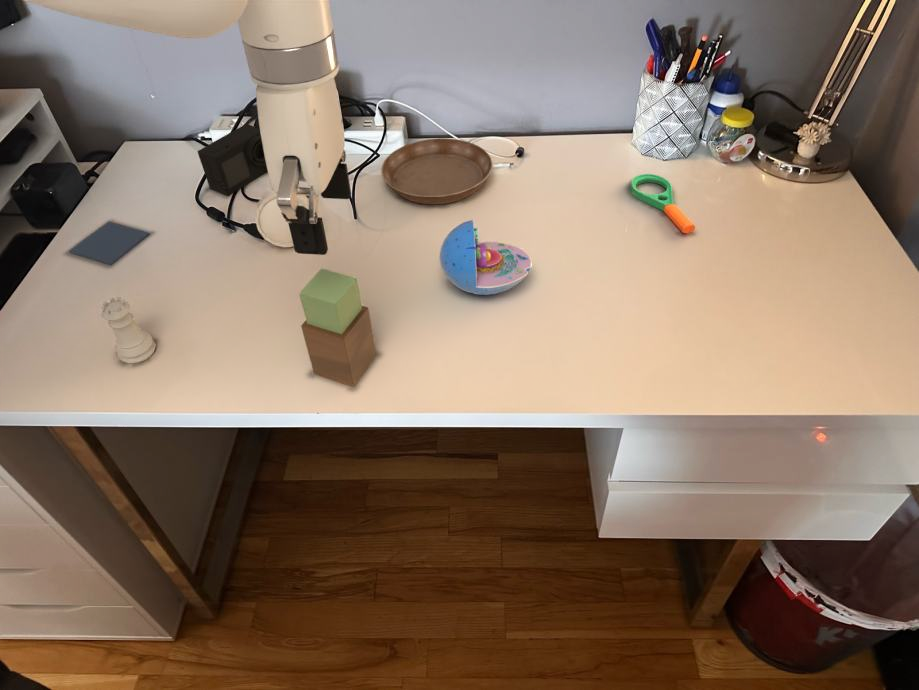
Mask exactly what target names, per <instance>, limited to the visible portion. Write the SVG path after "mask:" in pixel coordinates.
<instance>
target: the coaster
mask: <svg viewBox="0 0 919 690" xmlns="http://www.w3.org/2000/svg"><path fill="white" fill-rule="evenodd" d="M150 235H151V233H150V232H148V231H145V230H141V229H138V228H134V227H130V226H127V225H123V224H120V223H116V222H113V221H107V222H106V223H104V224H103V225H102V226H101V227H99V228H98V229H96V230H95V231H94V232H92V233H91V234H90V235H88V236H87V237H86V238H84V239H83V240H81V241H80V242H79V243H78V244H76V245H75V246H73V247H72V248H71V249H69V250H68V253H69V254H71V255H75V256H77V257H82V258H85V259H88V260H91V261H94V262H98V263H101V264H105V265H107V266H113V265H114V264H115V263H116V262H118V261H119V260H120V259H122V258H123V257H124V256H126V255H127V254H128V253H129V252H131V250H133V249H134V248H135V247H137V245H139V244H140V243H142V241H145V239H147V238H148V237H149V236H150Z"/></svg>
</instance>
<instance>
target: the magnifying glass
mask: <svg viewBox="0 0 919 690" xmlns="http://www.w3.org/2000/svg"><path fill="white" fill-rule="evenodd" d="M644 183H653V184H657V185H660V186H662V187H663V188H664V189H665V191H664V192H660V193H647V192H644V191H641V190H639V189H638V188H637V186H639V185H641V184H644ZM630 193H631V194H632V196H633V197H635V198H636V199H638V200H640V201H642V202H643V203H646V204H648V205H650V206H652V207H654V208H656V209H659V210H661V212H664V214H665V215H666V216H667V217H668V218H669V219H670V220H671V221H672V222H673V223H674V225H676V227H677V228H678V229H679V230H680V231H681V232H682V233H683V234H690V233H692V232H694V230H695V229H696V226H695V224H694V223H693V222H692V221H691V220H690V218H689V217H688V216H686V215H685V213H683V211H681V209H680V208H679V207H678V206H677V205H676V204H675V202H674V197H673V185H672V184H671V182H670V181H669V180H668V179H666V178H665V177H662V176H661V175H658V174H653V173H642V174H638V175H636V176H634V177H633V178H632V179H631V182H630Z"/></svg>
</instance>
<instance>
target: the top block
mask: <svg viewBox="0 0 919 690" xmlns="http://www.w3.org/2000/svg"><path fill="white" fill-rule="evenodd" d="M299 298H300V302H301V306H302V309H303V314H304V318H305V321H307V324H309V325H313V326H316V327H319V328H323V329H326V330H329V331H332V332H336V333H339V334H343V332H344V331H345V330H346V329H347V327H348V326H349V325H350V324H351V322H352V321H353V320H354V319H355V317H356V316H357V315H358V314H359V312H360V311H361V310H362V306H363V305H362V300H361V299H362V298H361V293H360V288H359V282H358V278H357V277H355V276H351V275H348V274H343V273H340V272H336V271H332V270H329V269H326V268H320V270H319V271H318V272H317V273H316V274H314V276H313V278H311V279H310V280H309V282H307V284H306V285H305V286H304V287H303V288H302V289H301V290H300V292H299Z"/></svg>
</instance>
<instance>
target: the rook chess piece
mask: <svg viewBox="0 0 919 690" xmlns="http://www.w3.org/2000/svg"><path fill="white" fill-rule="evenodd" d="M131 308H132V306H131V303H130V302H128V301H125V300H124V299H123V298H122V297H119V296H117V297H116V299H115V297H110V298H109V302H108V301H106V300H104V301H103V303H102V306H101V315H100V316H101V318H103V319H104V320H107V321H108V326H109V327H110V328H112V330H113V331H114V334H115V336H116V340H115V343H116V344H115V351H116V354H117V357H118V359H119V360H120V361H121V362H123V363H128V364H130V365H131V364H139V363H142V362H144V361H146V360H148V359H149V358H151V356H152V355H153V354H154V352H155V350H156V346H157V345H156V341H155V340H154V339H153V337H152V336H151V334H150V333H148V332H147V331H145V330H143V329H142V328H140V327H139V325H138V324H137V323H136V322H135V320H134V314H133V313H132V312H130V311H131Z"/></svg>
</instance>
